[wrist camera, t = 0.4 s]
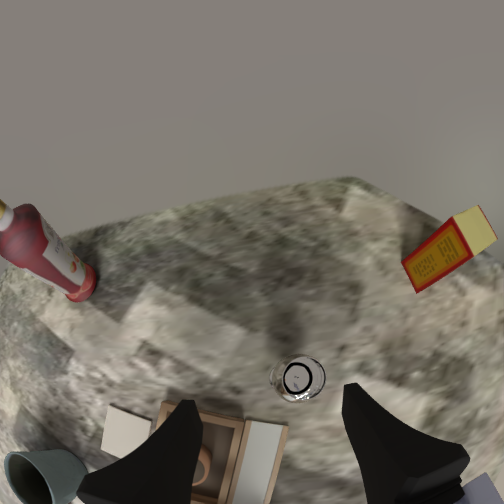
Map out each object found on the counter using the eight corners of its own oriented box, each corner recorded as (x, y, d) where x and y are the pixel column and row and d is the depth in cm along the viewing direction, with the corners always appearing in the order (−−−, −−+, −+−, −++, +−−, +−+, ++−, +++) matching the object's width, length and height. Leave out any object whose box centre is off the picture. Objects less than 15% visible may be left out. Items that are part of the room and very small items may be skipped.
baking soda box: (431, 247, 47) (479, 203, 33) (446, 275, 45) (499, 237, 30) (400, 262, 45) (452, 215, 31) (416, 293, 43) (474, 255, 28)
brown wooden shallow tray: (223, 503, 27) (222, 512, 24) (150, 484, 27) (144, 491, 25) (243, 418, 33) (244, 422, 31) (167, 400, 34) (161, 401, 31)
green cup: (70, 500, 23) (33, 520, 12) (37, 453, 26) (-6, 461, 15) (104, 485, 26) (67, 508, 15) (67, 434, 29) (22, 443, 18)
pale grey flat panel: (266, 509, 27) (266, 511, 26) (225, 503, 27) (225, 506, 26) (287, 425, 33) (289, 426, 32) (245, 419, 33) (246, 420, 33)
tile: (143, 465, 29) (142, 467, 28) (102, 448, 29) (100, 449, 29) (152, 421, 32) (151, 422, 32) (110, 405, 33) (108, 405, 32)
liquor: (106, 291, 40) (-6, 184, 15) (74, 313, 38) (-51, 231, 13) (91, 257, 43) (-3, 144, 17) (61, 279, 40) (-45, 184, 15)
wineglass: (256, 380, 36) (264, 382, 25) (283, 350, 38) (301, 339, 27) (286, 405, 35) (307, 416, 24) (312, 375, 37) (342, 373, 26)
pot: (208, 475, 29) (204, 490, 23) (174, 466, 29) (163, 479, 23) (215, 446, 31) (211, 458, 25) (180, 437, 31) (170, 447, 26)
